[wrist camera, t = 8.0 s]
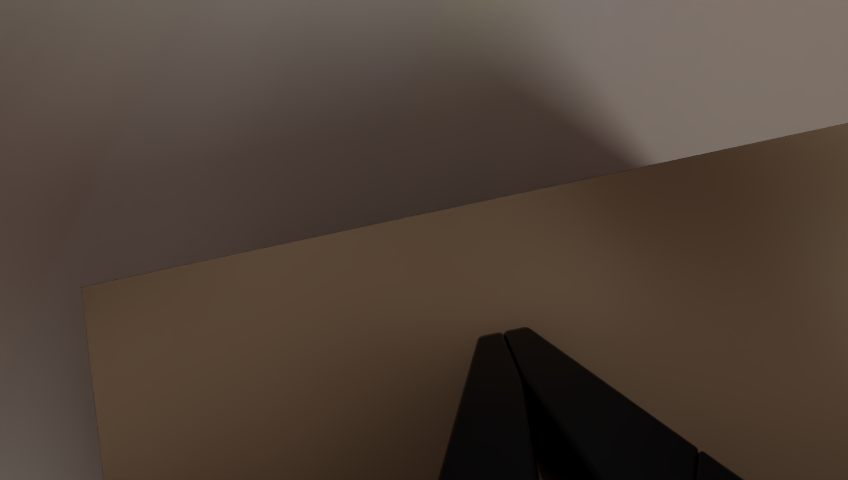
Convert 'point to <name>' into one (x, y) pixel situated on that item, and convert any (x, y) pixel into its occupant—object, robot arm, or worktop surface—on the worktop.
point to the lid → (499, 325)
